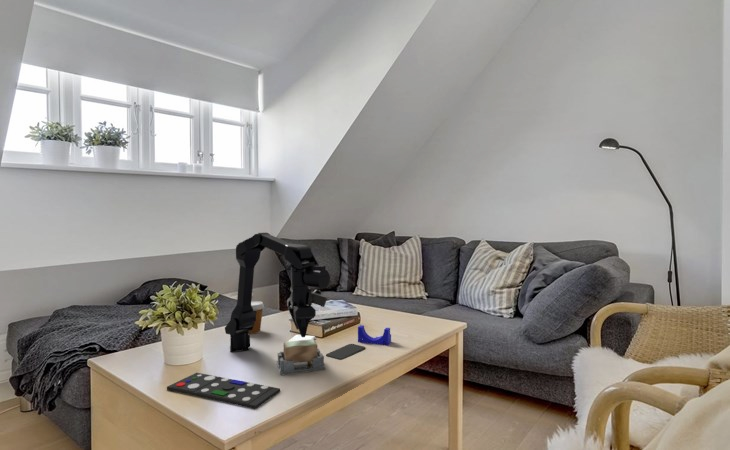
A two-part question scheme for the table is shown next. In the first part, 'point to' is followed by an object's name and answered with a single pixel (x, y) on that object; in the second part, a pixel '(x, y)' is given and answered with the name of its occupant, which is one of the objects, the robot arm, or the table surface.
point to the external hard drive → (301, 338)
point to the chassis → (300, 364)
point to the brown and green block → (300, 350)
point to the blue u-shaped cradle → (378, 340)
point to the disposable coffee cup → (257, 316)
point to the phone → (345, 351)
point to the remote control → (225, 390)
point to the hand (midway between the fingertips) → (300, 333)
